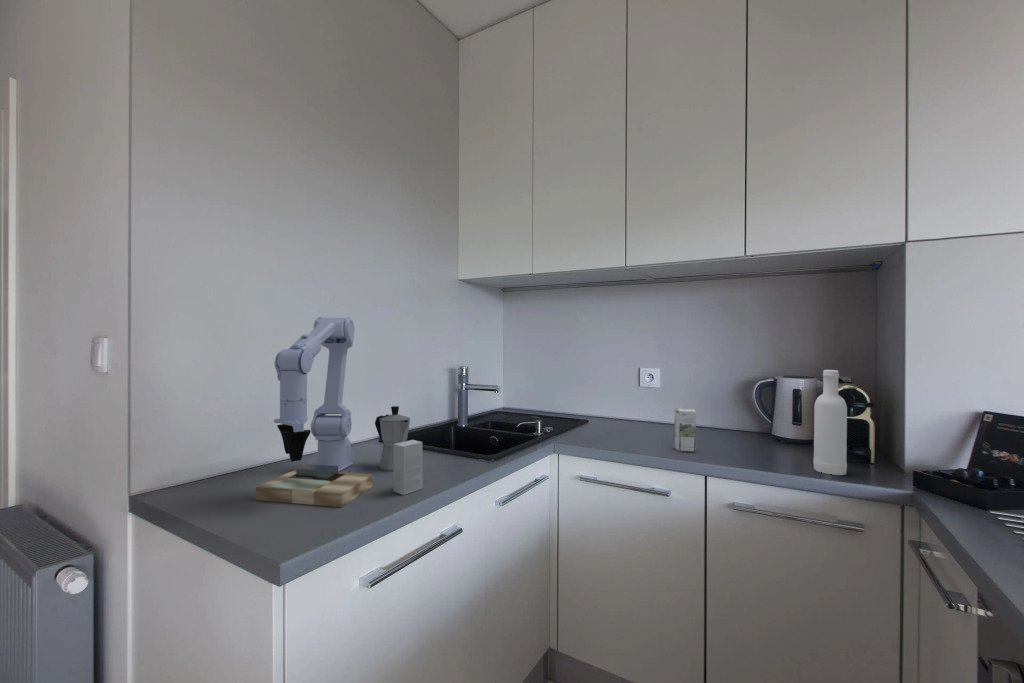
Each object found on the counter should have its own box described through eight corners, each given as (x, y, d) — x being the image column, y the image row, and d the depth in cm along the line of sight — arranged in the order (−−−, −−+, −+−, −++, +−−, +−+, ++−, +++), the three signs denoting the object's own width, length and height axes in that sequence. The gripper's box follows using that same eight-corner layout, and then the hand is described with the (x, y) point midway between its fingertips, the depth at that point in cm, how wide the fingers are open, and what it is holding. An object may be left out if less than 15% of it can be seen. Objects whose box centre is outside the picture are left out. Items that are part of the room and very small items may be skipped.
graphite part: (306, 472, 110) (306, 464, 110) (338, 474, 108) (338, 466, 108) (296, 477, 106) (296, 468, 106) (328, 479, 104) (328, 470, 104)
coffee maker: (420, 467, 125) (421, 406, 125) (397, 474, 118) (397, 410, 118) (387, 458, 134) (387, 402, 134) (363, 465, 126) (364, 405, 126)
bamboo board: (296, 480, 112) (296, 467, 112) (372, 486, 108) (373, 473, 108) (255, 499, 98) (255, 485, 98) (341, 507, 95) (341, 492, 95)
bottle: (846, 477, 119) (847, 371, 119) (812, 471, 124) (813, 370, 124) (846, 470, 126) (847, 370, 126) (814, 465, 131) (815, 368, 131)
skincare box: (412, 485, 109) (412, 439, 109) (423, 489, 107) (423, 441, 107) (392, 491, 105) (392, 443, 105) (402, 495, 102) (403, 446, 102)
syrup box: (690, 448, 151) (690, 407, 151) (696, 452, 145) (696, 410, 145) (674, 447, 151) (674, 407, 151) (678, 452, 146) (679, 410, 146)
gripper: (270, 397, 104) (270, 452, 104) (278, 405, 92) (278, 467, 92) (302, 395, 108) (301, 448, 108) (313, 402, 96) (313, 462, 96)
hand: (293, 456), depth 100 cm, fingers open, 7 cm apart
